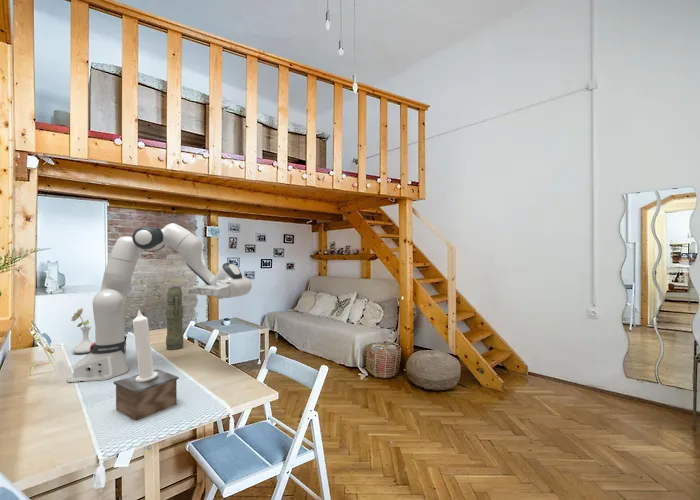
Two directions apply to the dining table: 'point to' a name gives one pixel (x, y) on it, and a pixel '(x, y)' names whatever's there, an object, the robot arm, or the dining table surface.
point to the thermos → (174, 319)
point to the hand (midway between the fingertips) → (194, 292)
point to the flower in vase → (85, 344)
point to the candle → (143, 349)
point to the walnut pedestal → (146, 395)
